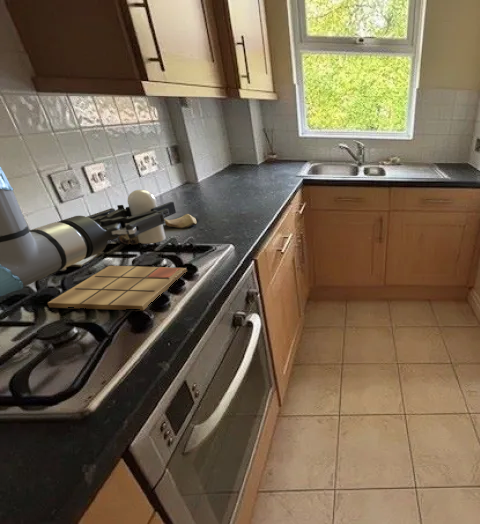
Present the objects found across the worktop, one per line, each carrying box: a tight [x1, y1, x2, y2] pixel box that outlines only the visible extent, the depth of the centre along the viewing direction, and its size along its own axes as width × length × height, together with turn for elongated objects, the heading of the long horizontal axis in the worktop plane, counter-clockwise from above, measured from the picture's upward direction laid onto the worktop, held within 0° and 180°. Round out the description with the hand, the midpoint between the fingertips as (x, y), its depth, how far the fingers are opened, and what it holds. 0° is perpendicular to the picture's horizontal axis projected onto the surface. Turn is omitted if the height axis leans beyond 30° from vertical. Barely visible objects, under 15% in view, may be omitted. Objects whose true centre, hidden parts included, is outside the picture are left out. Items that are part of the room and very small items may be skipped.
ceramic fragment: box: [67, 252, 102, 268], centre depth 86 cm, size 14×5×4 cm, turn 141°
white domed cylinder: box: [127, 189, 167, 245], centre depth 75 cm, size 5×5×12 cm
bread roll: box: [118, 234, 140, 245], centre depth 104 cm, size 10×10×8 cm
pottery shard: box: [164, 213, 198, 229], centre depth 118 cm, size 11×4×10 cm
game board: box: [47, 265, 188, 311], centre depth 78 cm, size 20×18×1 cm
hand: (161, 206), depth 79 cm, fingers closed on white domed cylinder, 5 cm apart
